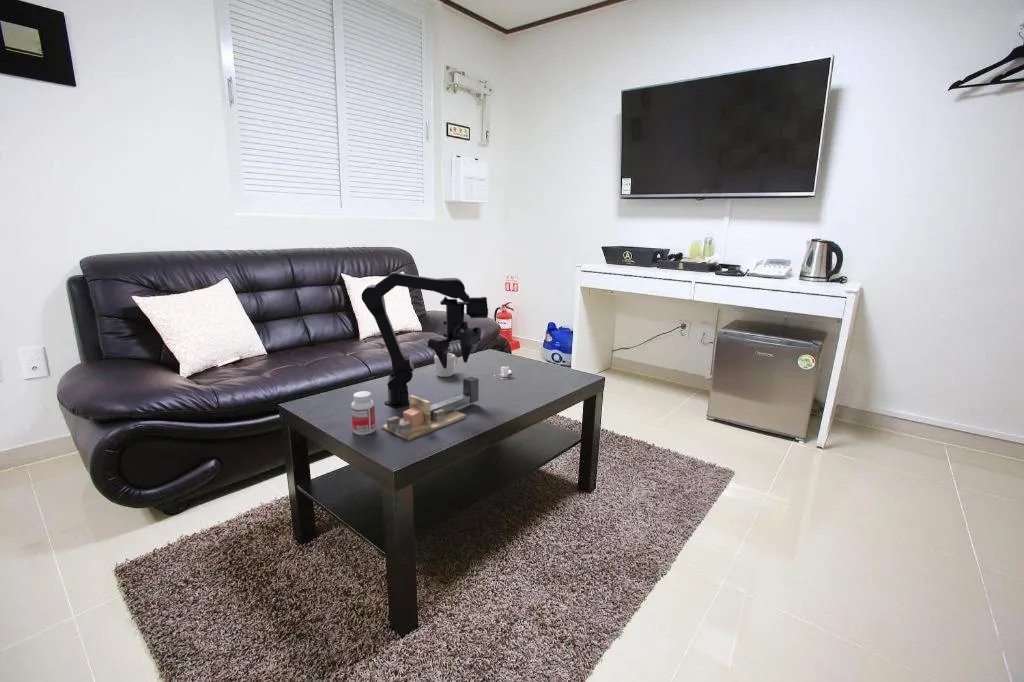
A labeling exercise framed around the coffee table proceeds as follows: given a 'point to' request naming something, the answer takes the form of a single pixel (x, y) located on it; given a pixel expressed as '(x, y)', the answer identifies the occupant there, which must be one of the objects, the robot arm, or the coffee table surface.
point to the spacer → (414, 416)
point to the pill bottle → (363, 413)
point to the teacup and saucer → (505, 371)
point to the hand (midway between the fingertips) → (455, 365)
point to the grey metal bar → (459, 397)
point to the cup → (450, 365)
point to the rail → (429, 424)
